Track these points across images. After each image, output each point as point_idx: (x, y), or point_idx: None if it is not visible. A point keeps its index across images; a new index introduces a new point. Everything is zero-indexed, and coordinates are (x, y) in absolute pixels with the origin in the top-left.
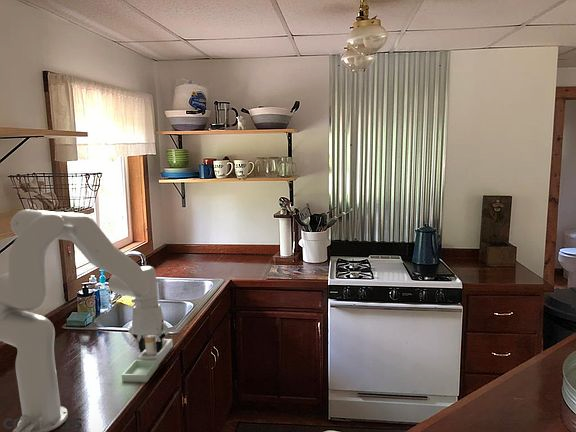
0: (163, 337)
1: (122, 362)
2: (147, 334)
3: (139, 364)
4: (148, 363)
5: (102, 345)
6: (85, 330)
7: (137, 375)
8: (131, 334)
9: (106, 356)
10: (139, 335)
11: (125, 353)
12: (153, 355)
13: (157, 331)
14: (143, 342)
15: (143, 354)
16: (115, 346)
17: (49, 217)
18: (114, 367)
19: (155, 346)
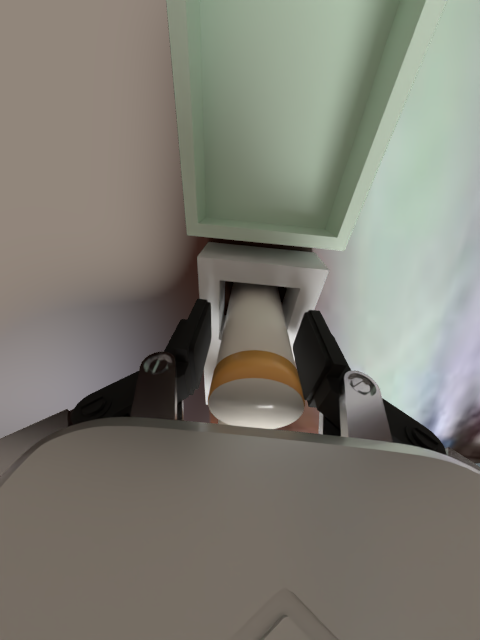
0: (105, 387)
1: (396, 292)
2: (250, 442)
3: (308, 229)
4: (250, 225)
5: (452, 404)
6: (476, 457)
7: None
8: (458, 454)
9: (460, 345)
10: (368, 433)
11: (376, 357)
12: (236, 294)
13: (12, 501)
14: (308, 371)
15: (296, 303)
16: (408, 396)
17: None
18: (450, 242)
19: (221, 339)
